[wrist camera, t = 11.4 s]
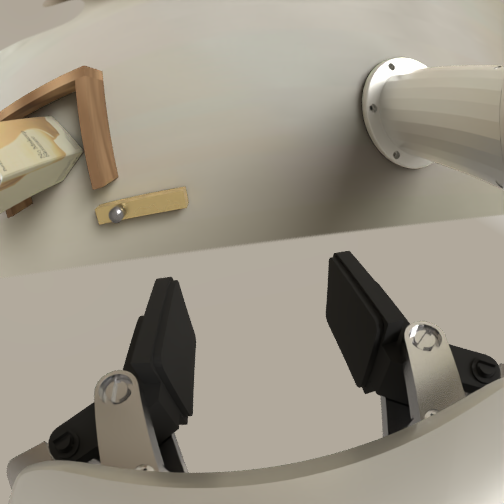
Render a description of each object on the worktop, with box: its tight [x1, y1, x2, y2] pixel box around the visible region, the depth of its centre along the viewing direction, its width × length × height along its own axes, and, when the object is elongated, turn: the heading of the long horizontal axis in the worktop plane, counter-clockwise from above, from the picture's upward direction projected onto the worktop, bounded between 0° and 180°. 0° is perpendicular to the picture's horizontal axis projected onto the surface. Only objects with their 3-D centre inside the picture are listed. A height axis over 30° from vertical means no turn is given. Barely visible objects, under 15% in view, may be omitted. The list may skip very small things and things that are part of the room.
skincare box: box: [0, 116, 83, 214], centre depth 15 cm, size 6×4×12 cm
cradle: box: [0, 66, 118, 218], centre depth 19 cm, size 13×11×4 cm
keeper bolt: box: [95, 186, 189, 225], centre depth 23 cm, size 9×2×3 cm, turn 96°
